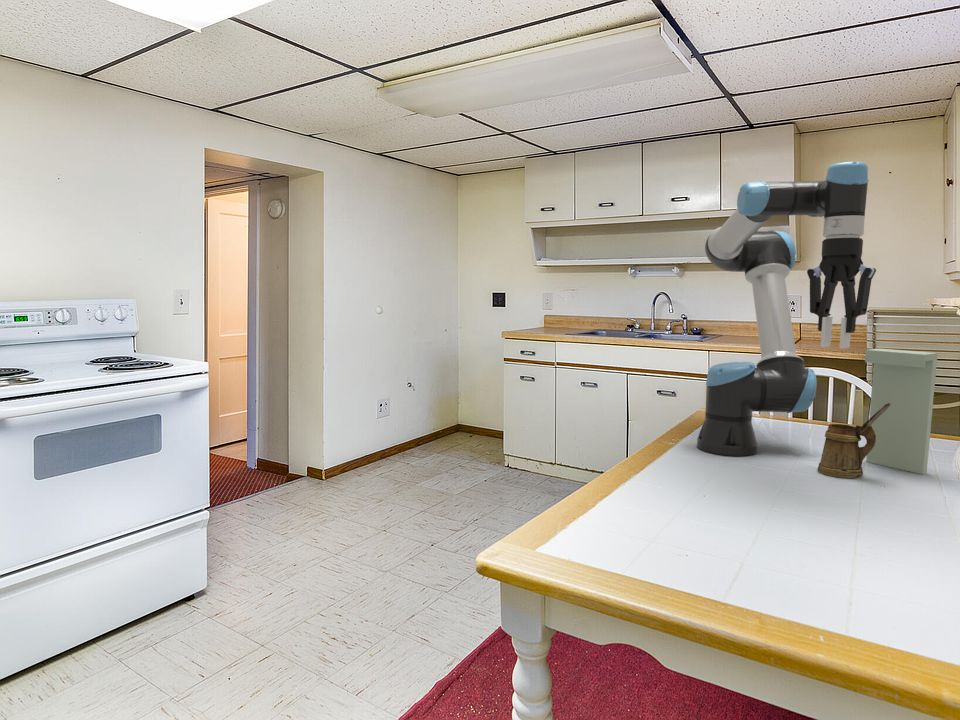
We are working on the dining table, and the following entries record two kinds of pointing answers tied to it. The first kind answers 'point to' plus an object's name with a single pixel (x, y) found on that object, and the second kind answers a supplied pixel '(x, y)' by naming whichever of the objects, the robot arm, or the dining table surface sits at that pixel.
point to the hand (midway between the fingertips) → (834, 346)
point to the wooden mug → (847, 448)
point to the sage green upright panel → (902, 407)
